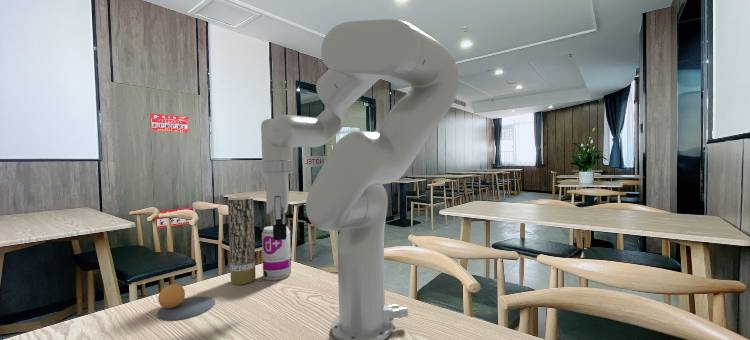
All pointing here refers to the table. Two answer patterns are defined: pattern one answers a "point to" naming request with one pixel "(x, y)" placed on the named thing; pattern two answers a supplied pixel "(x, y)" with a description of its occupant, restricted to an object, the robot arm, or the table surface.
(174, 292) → the ball
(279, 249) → the supplement can
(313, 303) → the table surface
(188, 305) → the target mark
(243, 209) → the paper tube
